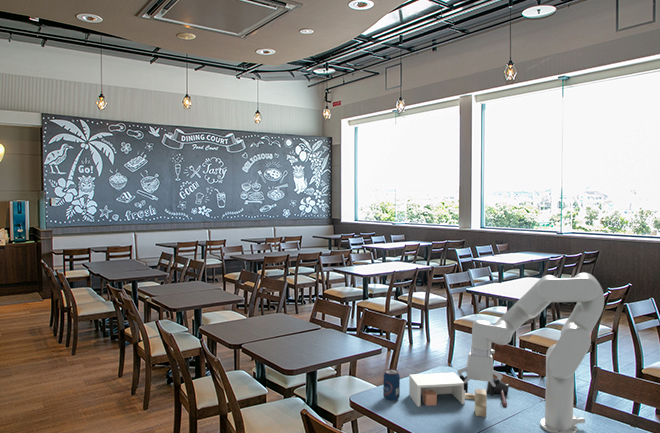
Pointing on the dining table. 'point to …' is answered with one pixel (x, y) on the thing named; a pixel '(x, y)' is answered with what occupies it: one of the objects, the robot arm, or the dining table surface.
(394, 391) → the soda can
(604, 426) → the dining table surface
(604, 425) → the dining table surface
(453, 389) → the shelf cubby
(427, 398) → the block
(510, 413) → the dining table surface
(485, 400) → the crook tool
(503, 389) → the coffee pot
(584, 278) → the robot arm
